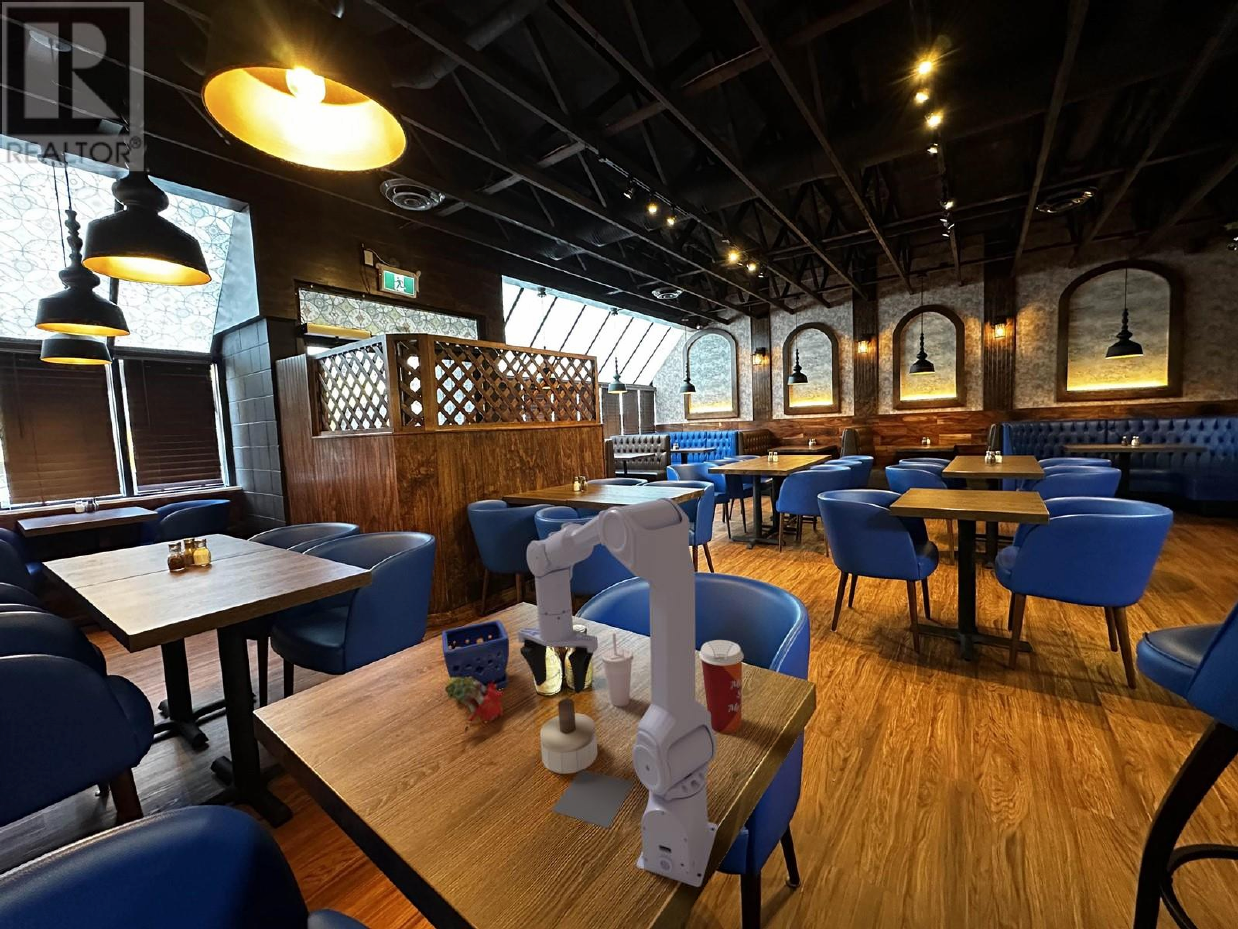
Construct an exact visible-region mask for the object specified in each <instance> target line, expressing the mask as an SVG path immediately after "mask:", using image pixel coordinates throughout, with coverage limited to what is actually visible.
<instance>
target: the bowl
mask: <svg viewBox="0 0 1238 929" xmlns="http://www.w3.org/2000/svg"><path fill="white" fill-rule="evenodd" d="M595 729H596V726H595ZM596 730H597V729H596ZM540 749H541V761H542V763H543V765H544V766H545V768H546V769H548V770H549V771H551V772H553V773H557V774H566V775H567V774H573V773H577V772H578V773H579V772H580V770H582V769H584V770H586V769H587V768H588V767H589V766H591V765H592V764H593V763H594V762H595V761H596V758H597V756H598V743H597V733H596V734H595V737H594V739H593V740H592V742H591V743H590V744H588V745H587V746H585V747H584V748H582V749H579V750H577V751H573V752H567V753H558V752H553V751H550V750H548V749H546V748H545V747H544V746H543V745H542V743H541V742H540Z"/></svg>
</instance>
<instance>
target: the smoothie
mask: <svg viewBox="0 0 1238 929" xmlns="http://www.w3.org/2000/svg"><path fill="white" fill-rule="evenodd" d="M616 634H617V633H616V632H613V633H612V641H613V642H612V643H613V646H612V647H610V648H607V649H605V650H604V651H602V653H601V654H600V661H601V663H602V664H603V669H604V674H605V680H606V684H607V690H608V695H609V700H610V704H611V705H612V706H614V707H624V706H627V705H628V704H629V703H630V697H631V694H630V693H631V682H632V681H631V678H632V661H633V660H634V653H633V651H632V650H631V649H630V648H627V647H623V646H617V638H616V637H617V635H616Z"/></svg>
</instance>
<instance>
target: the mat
mask: <svg viewBox="0 0 1238 929" xmlns="http://www.w3.org/2000/svg"><path fill="white" fill-rule="evenodd" d="M634 785H635V782H634V781H632V780H631V781H630V780H628V779H623V778H619V777H616V776H611V775H607V774H603V773H599V772H595V771H591V770H587V769H582V770H580V771H578V773H577V774H576V776H575V777H574V779H573V780H572V781H571V782H570V784H569V785H568V786H567V788H566V789H565V791H564V792H563V794H561V796H560V798H559V799H558V800H557V802H556V803H555V804H554V805H553V807H552V809H551V810H550V811H551V812H552V813H557V814H560V815H562V816H566V817H569V818H572V819H576V820H579V821H583V822H585V823H588V824H592V825H595V826H599V827H602V828H606V829H610V828H611V827H610V826H611V825H612V823H613V822H614V820H615V818H616V816H617V815H618V813H619V810H621V807H622V806H623V804H624V802H625V800H626V799H627V797H628V794H629V793H630V791H631V789H632V788H633V786H634Z"/></svg>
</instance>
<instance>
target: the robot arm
mask: <svg viewBox="0 0 1238 929" xmlns="http://www.w3.org/2000/svg"><path fill="white" fill-rule="evenodd" d="M560 525H561V524H560ZM560 527H561V529H560V530H559V531H552V532H550V533H549V534H548V537H547V538H545V539H542V540H532V541H530V543H529V544H528V546H527V547H526V548H527V549H526V562H527V566H528V568H529V570H530V573H532V575H534V581H535V582H534V584H535V593H536V594H535V597H536V607H537V618H538V619H537V621H538V627H523V628H522V629H520V630H519V631H518V632H517V636H518V637H517V638H518V643H519V644H520V643H521V644H523V646H522V647H521V648H520V649H519V651H520V652H519V653H520V654H521V655H522V657H523V658H524V659H525V661H526V662H527V665H528V667H529V669H530V671H531V673H532V675H533V678H534V681H535V684H536V686H537V687H541V686H542V685H543V684H544V683H545V682H547V647H562V648H569V649H574V650H573V651H572V652H571V653H570V654H569V655H568V656H567V659H568V661H569V664H570V667H571V671H572V675H573V676H572V678H573V688H574V692H575V694H581V692H583V690H584V689H585V687H586V679H587V674H588V669H589V666H590V662H591V660H592V658H593V655H594V653H595V652H596V650H598V648H599V642H598V636H595V635H589V634H587V633H585V632H583V631H582V632H581V631H578V630H576V629H574V623H573V622H574V620H573V608H572V595H571V592H572V591H571V579H572V578H573V575H574V574H573V568H574V565H575V564H577V563H579V562H581V561H585V560H586V559H588V558H589V557H590V556H591V555H592V553H593V550H594V546H597V545H599V544H601V545H602V546H603V547H604V546H605V547H606V549H607V550H608V551H609V552H610V554H611V555H612V556H613V557H614V558H616V560H617V561H619V563H621V564H622V566H624V567H625V568H626V569H627V570H628V571H630V573H632V574H633V576H635V577H637V578H639V579H643V580H645V581H646V582H647V583H648V586H649V632H650V633H649V635H650V636H649V637H650V638H649V639H650V645H649V646H650V648H649V649H650V650H649V651H650V701H651V702H650V705H649V707H648V709H647V710H646V711H645V713H644V715H643V716H642V718H641V720H640V721H639V722H638V725H637V726H636V728H637V729H636V730H637V731H636V732H637V734H636V739H635V741H634V744H633V747H632V763H633V768H634V770H635V773H636V775H637V777H638V779H639V781H640V782H641V784H642V785H643V786H644V787H645V789H647V790H648V801H647V805H646V808H645V811H644V813H643V815H642V818H641V821H640V823H641V824H640V828H641V829H640V830H641V845H642V846H641V847H642V850H641V854H640V855H639V857H638V860H637V862H636V867H637V868H638V869H642V870H645V871H649V872H651V873H654V874H657V875H660V876H663V877H666V878H668V879H671V880H675V881H677V882H681V883H684V884H686V885H687V884H688V885H690V886H694V887H696V888H698V887H700V886H701V885H702V882H703V879H704V876H705V872H706V869H707V866H708V862H709V859H710V855H711V851H712V848H713V845H714V842H715V838H716V835H717V832H718V824H717V823H714V822H710V821H709V820H708V819H709V818H708V801H707V800H708V799H707V783H706V776H707V774H708V773H709V762H711V761H712V760H713V759H714V758H715V757H716V755H717V750H718V748H717V747H718V746H717V740H716V739H717V738H716V737H715V733H714V730H713V729H712V726H711V713H710V712H709V711H708V710H707V707H705V706H704V705H703V704H702V703H701V702H699V701H697V700H696V573H695V572H696V571H695V564H694V562H693V558H692V553H691V551H690V518H689V517H688V515H687V514H686V513H685V512H684V510H683V509H682V508H681V506H680V505H679V504H677V502H676V501H675V500H673V499H672V498H670V497H660V498H657V499H655V500H649V501H645V502H640V503H635V504H628V505H623V506H611V507H609V508H607V509H605V510H601V511H600V512H599V513H598V514H597V515H596V516H595V517H593V518H592V519H591V520H589V521H587V522H585V524H583V525H582V524H579V523H573V522H572V521H568V522H564V523H563V524H562V525H561V526H560ZM712 829H714V830H712ZM699 874H700V875H701V876H699Z"/></svg>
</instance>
